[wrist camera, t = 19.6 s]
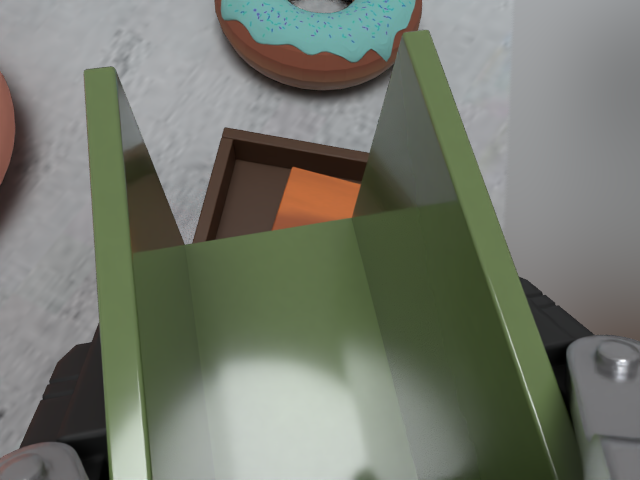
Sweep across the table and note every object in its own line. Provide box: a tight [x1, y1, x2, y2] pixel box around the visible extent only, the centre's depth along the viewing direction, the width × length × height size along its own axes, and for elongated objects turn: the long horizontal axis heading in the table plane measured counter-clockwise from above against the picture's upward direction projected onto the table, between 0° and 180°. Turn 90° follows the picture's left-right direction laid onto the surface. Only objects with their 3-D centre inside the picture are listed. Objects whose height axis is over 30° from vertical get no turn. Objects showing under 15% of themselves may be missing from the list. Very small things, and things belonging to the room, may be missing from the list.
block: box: [271, 167, 361, 231], centre depth 26 cm, size 4×4×4 cm
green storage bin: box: [84, 30, 584, 480], centre depth 11 cm, size 10×6×8 cm, turn 12°
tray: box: [192, 127, 369, 244], centre depth 27 cm, size 12×11×2 cm
